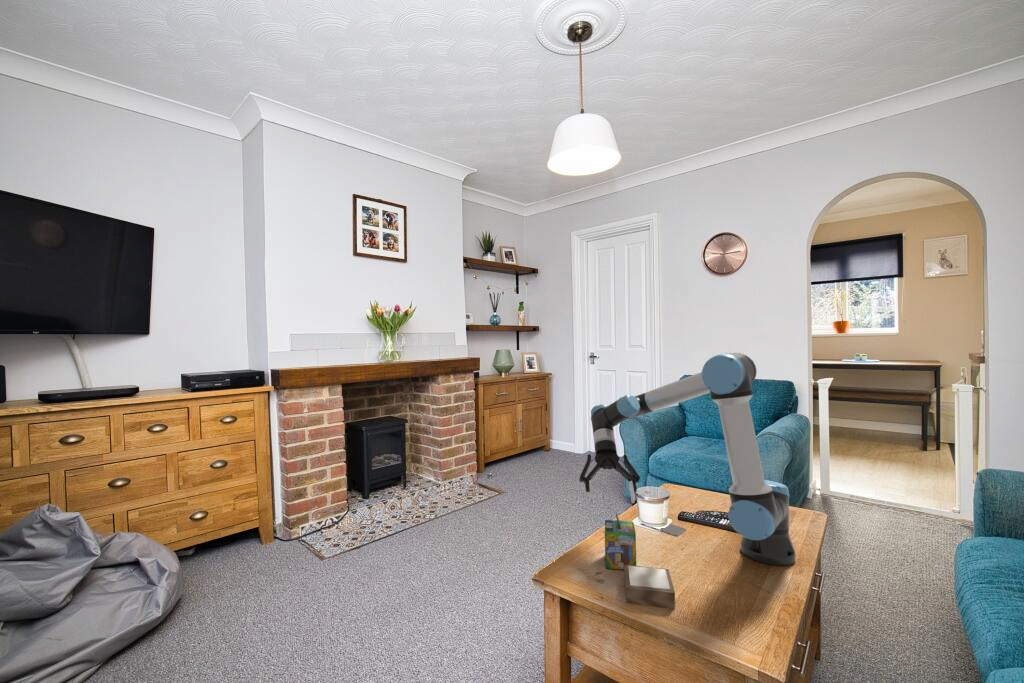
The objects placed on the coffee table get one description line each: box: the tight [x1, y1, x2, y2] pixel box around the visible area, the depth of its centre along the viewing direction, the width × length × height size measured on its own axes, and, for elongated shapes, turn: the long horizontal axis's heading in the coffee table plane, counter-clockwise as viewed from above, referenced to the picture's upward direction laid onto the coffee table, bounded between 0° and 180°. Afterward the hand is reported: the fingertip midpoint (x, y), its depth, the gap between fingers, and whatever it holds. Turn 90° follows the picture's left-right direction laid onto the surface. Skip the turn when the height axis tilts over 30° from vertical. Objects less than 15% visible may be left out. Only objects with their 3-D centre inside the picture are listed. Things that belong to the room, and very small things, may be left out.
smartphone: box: [660, 523, 687, 537], centre depth 164 cm, size 7×1×15 cm
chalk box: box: [604, 512, 637, 571], centre depth 137 cm, size 9×9×15 cm
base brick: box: [624, 565, 676, 609], centre depth 121 cm, size 12×12×4 cm
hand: (612, 501), depth 147 cm, fingers open, 13 cm apart
